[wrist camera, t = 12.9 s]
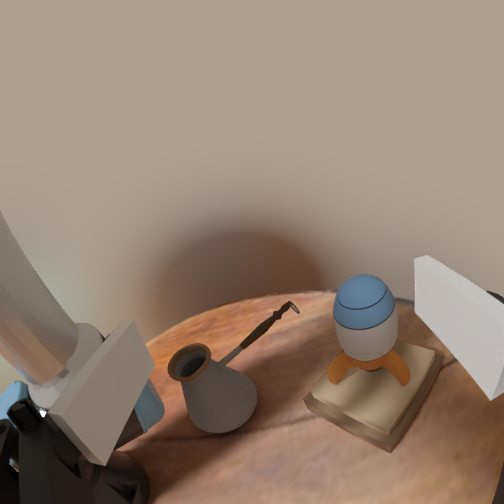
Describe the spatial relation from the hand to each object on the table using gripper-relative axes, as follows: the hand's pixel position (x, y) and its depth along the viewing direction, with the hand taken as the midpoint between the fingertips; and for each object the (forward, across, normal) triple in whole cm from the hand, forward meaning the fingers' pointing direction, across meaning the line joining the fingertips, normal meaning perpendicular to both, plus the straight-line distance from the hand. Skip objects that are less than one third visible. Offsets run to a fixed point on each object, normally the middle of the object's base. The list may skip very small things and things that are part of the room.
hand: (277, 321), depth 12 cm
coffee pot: (+21, -7, -26) cm, 34 cm away
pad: (+16, +10, -24) cm, 31 cm away
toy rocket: (+15, +10, -20) cm, 26 cm away
